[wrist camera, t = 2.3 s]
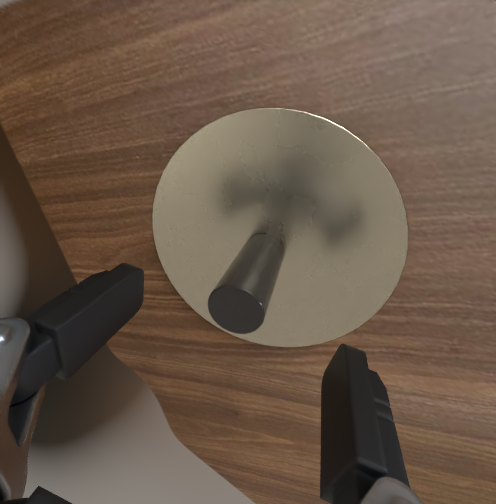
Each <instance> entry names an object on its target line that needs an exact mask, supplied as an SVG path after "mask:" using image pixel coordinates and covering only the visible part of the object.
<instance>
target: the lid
mask: <svg viewBox="0 0 496 504" xmlns="http://www.w3.org/2000/svg"><path fill="white" fill-rule="evenodd" d="M152 225H153V235H154V241H155V246H156V249H157V253H158V256H159V259H160V261H161V264H162V266H163V269H164V271H165V272H166V274H167V276H168V278H169V280H170V282H171V283H172V285H173V286H174V288H175V289H176V291H177V292H178V293H179V294H180V295H181V297H182V298H183V299H184V300H185V301H186V302H187V303H188V304H189V305H190V306H191V307H192V308H193V309H194V310H195V311H196V312H197V313H198V314H199V315H201V316H202V317H203V318H204V319H206V320H207V321H209V322H210V323H212V324H213V325H214V326H216V327H218V328H220V329H221V330H223V331H225V332H227V333H229V334H231V335H234V336H236V337H238V338H241V339H244V340H247V341H250V342H254V343H258V344H262V345H268V346H276V347H303V346H310V345H316V344H321V343H324V342H328V341H331V340H334V339H336V338H339V337H341V336H344V335H346V334H348V333H350V332H351V331H353V330H355V329H357V328H358V327H360V326H361V325H362V324H364V323H365V322H366V321H368V320H369V319H370V318H372V317H373V316H374V315H375V314H376V313H377V312H378V311H379V310H380V309H381V308H382V306H383V305H384V304H385V302H386V301H387V300H388V298H389V297H390V296H391V294H392V293H393V291H394V289H395V287H396V285H397V283H398V281H399V279H400V277H401V274H402V271H403V268H404V265H405V261H406V256H407V250H408V222H407V215H406V209H405V206H404V203H403V200H402V197H401V193H400V191H399V189H398V187H397V185H396V183H395V181H394V179H393V177H392V175H391V173H390V172H389V170H388V169H387V167H386V166H385V165H384V163H383V162H382V161H381V159H380V158H379V157H378V155H377V154H376V153H375V152H374V151H373V150H372V149H371V148H370V147H369V146H368V145H367V144H366V143H365V142H363V141H362V140H361V139H360V138H358V137H357V136H355V135H354V134H353V133H351V132H350V131H349V130H347V129H346V128H344V127H342V126H340V125H338V124H336V123H334V122H332V121H330V120H328V119H326V118H324V117H321V116H318V115H315V114H312V113H309V112H306V111H300V110H294V109H288V108H269V107H262V108H255V109H248V110H242V111H239V112H235V113H232V114H229V115H225V116H223V117H221V118H219V119H217V120H215V121H212V122H210V123H208V124H207V125H205V126H204V127H202V128H201V129H199V130H198V131H196V132H195V133H194V134H192V135H191V136H190V137H189V138H188V139H187V140H186V141H185V142H184V143H183V144H182V145H181V146H180V147H179V148H178V149H177V151H176V152H175V153H174V155H173V156H172V157H171V158H170V160H169V162H168V164H167V165H166V167H165V169H164V171H163V172H162V175H161V178H160V180H159V183H158V185H157V189H156V193H155V197H154V202H153V212H152Z"/></svg>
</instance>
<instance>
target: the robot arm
mask: <svg viewBox="0 0 496 504" xmlns="http://www.w3.org/2000/svg"><path fill="white" fill-rule="evenodd" d="M143 290H144V272H143V270H142V269H140V268H137V267H135V266H132V265H129V264H126V263H122V264H120V265H118V266H117V267H115V268H114V269H112V270H111V271H107V270H106V271H103V272H100V273H97V274H94V275H91V276H89V277H88V278H86V279H85V280H83V281H81V282H80V283H79V285H75V286H73V287H72V288H70V289H69V291H65V292H64V293H62V294H61V295H59V296H57V297H56V298H54V299H53V300H51V301H49V302H48V303H46V304H44V305H43V306H41V307H40V308H38V309H36V310H35V311H33V312H32V313H30V314H28V315H27V316H25V317H23V318H22V319H20V318H12V317H11V318H0V504H72V503H70V502H68V501H66V500H64V499H62V498H61V497H59V496H57V495H55V494H53V493H51V492H49V491H47V490H46V489H44V488H42V487H40V486H38V487H37V488H36V490H35V491H34V492H33V493H32V495H31V496H30V497H29V498H22V497H23V493H24V489H25V485H26V478H27V457H28V450H29V446H30V443H31V439H32V436H33V432H34V429H35V425H36V421H37V418H38V414H39V410H40V407H41V403H42V400H43V396H44V393H45V389H46V382H47V381H48V380H50V379H51V378H52V377H53V376H56V377H59V378H61V379H63V380H65V381H67V380H68V379H69V378H70V377H71V376H72V375H73V374H74V373H75V372H76V371H77V370H78V369H79V368H80V367H81V366H82V365H83V364H84V363H85V362H86V361H88V359H90V357H91V356H93V355H94V354H95V353H96V352H97V351H98V350H99V349H100V348H101V347H102V346H103V345H104V344H105V343H106V342H107V341H108V340H109V339H110V338H111V337H112V336H113V335H114V334H115V333H116V332H117V331H118V330H119V329H120V328H122V327H123V326H124V325H125V324H126V323H127V322H128V321H129V320H130V319H131V318H132V317H133V316H134V315H135V314H136V313H137V312H138V310H139V309H140V307H141V305H142V302H143ZM389 406H390V403H389V399H388V394H387V390H386V387H385V386H384V384H383V382H382V381H381V379H380V377H379V376H378V374H377V372H374V371H372V370H369V369H368V363H367V358H366V354H365V352H364V351H362V350H359V349H356V348H354V347H351V346H348V345H345V344H341V345H340V346H339V348H338V349H337V351H336V353H335V355H334V356H333V358H332V360H331V361H330V363H329V365H328V367H327V368H326V370H325V373H324V376H323V380H322V387H321V474H320V498H321V499H323V500H325V501H327V502H329V503H332V504H423V502H422V501H421V500H420V498H419V497H418V496H417V495H416V494H415V493H414V492H413V491H412V490H411V488H410V485H409V482H408V478H407V474H406V470H405V465H404V461H403V457H402V453H401V449H400V445H399V440H398V436H397V432H396V428H395V424H394V422H393V415H392V411H391V408H390V407H389Z"/></svg>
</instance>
